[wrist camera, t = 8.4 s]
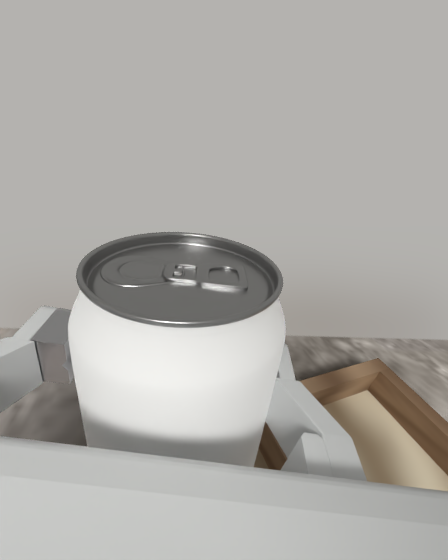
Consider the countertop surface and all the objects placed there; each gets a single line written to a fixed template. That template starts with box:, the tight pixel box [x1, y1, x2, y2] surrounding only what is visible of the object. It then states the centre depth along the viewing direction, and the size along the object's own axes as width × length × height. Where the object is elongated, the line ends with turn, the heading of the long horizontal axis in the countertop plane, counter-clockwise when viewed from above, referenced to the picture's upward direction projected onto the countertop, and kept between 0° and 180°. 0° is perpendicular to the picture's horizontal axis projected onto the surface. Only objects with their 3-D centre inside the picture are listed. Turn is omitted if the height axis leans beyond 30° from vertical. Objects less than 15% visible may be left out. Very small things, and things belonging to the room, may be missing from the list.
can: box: [68, 232, 286, 467], centre depth 11 cm, size 6×6×12 cm
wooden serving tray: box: [254, 358, 448, 491], centre depth 19 cm, size 16×16×3 cm
